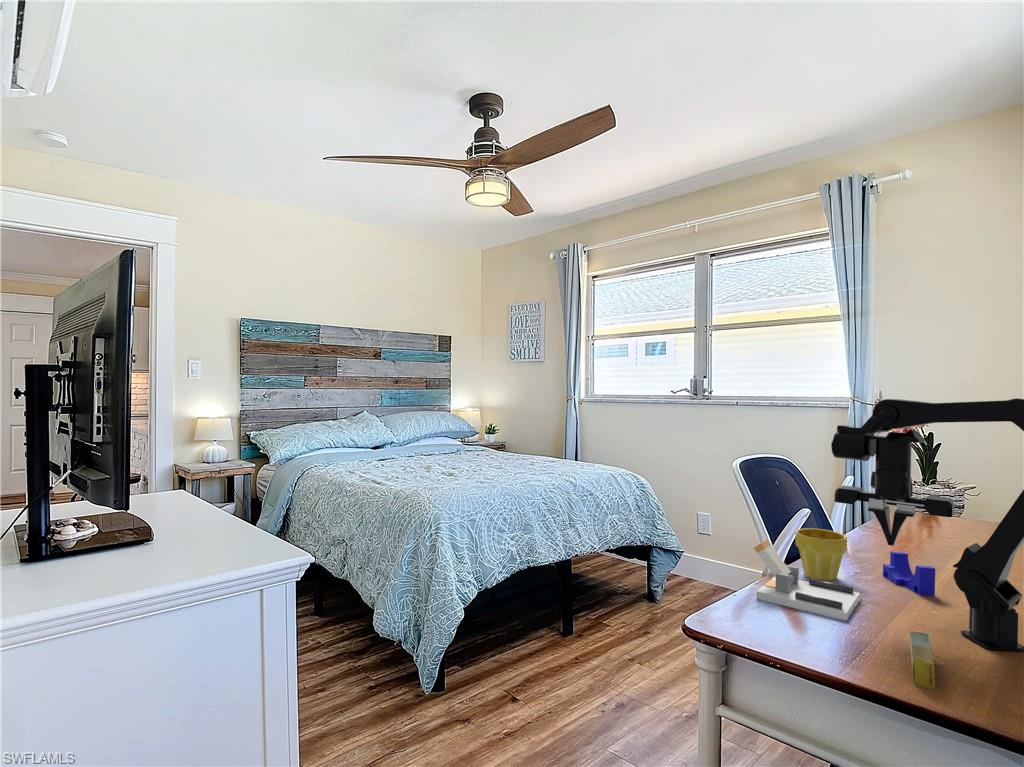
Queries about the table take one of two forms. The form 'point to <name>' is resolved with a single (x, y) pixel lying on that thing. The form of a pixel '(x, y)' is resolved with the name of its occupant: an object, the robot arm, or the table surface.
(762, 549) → the lever
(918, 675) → the medication box
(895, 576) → the cable clip
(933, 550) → the table surface
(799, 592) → the white base plate
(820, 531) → the plant pot
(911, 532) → the table surface
